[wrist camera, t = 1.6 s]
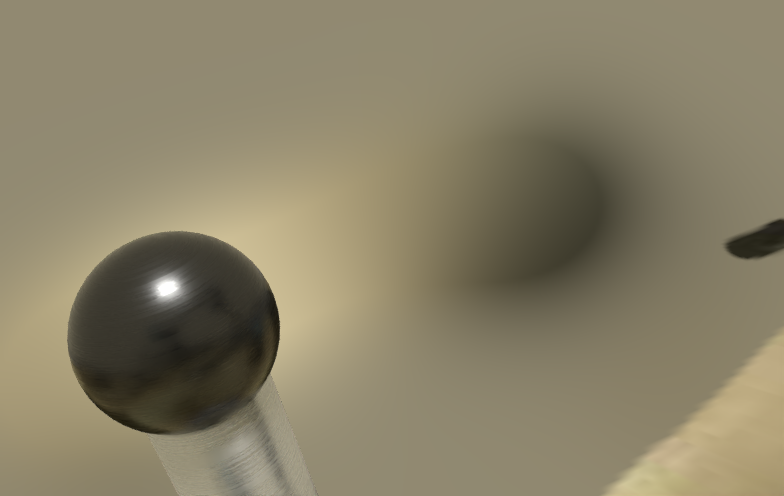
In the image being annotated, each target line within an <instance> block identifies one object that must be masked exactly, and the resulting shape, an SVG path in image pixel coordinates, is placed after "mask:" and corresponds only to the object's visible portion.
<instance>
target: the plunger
mask: <svg viewBox="0 0 784 496" xmlns="http://www.w3.org/2000/svg"><path fill="white" fill-rule="evenodd" d="M279 340H280V321H279V313H278V308H277V305H276V301H275V298H274V295H273V293H272V290H271V288H270V286H269V284H268V282H267V281H266V279H265V278H264V276H263V275H262V273H261V272H260V270H259V269H258V268H257V267H256V266H255V264H253V262H252V261H251V260H250V259H248V258H247V257H246V256H245V255H244V254H243V253H241V252H240V251H239V250H237V249H236V248H234V247H233V246H231V245H229V244H227V243H225V242H223V241H221V240H218V239H216V238H214V237H211V236H207V235H203V234H200V233H193V232H183V231H175V232H161V233H156V234H152V235H148V236H145V237H141V238H138V239H136V240H133V241H131V242H129V243H127V244H125V245H123V246H122V247H120V248H118V249H116V250H115V251H114V252H112V253H111V254H109V255H108V256H107V257H106V258H105V259H104V260H102V261H101V262H100V263H99V264H98V265H97V266H96V267H95V268H94V270H93V271H92V272H91V273H90V274H89V276H88V277H87V278H86V280H85V281H84V283H83V285H82V286H81V288H80V290H79V292H78V293H77V296H76V298H75V301H74V304H73V306H72V310H71V313H70V318H69V322H68V339H67V341H68V351H69V357H70V361H71V364H72V368H73V371H74V373H75V375H76V378H77V380H78V382H79V384H80V386H81V387H82V389H83V390H84V392H85V393H86V395H87V396H88V397H89V399H90V400H91V401H92V402H93V403H94V404H95V405H96V406H97V407H98V408H99V409H100V410H101V411H103V412H104V413H105V414H107V415H108V416H109V417H110V418H112V419H113V420H115V421H117V422H119V423H121V424H122V425H124V426H127V427H129V428H132V429H135V430H138V431H141V432H145V433H147V435H148V437H149V439H150V441H151V443H152V445H153V447H154V448H155V450H156V452H157V454H158V456H159V458H160V460H161V462H162V464H163V466H164V468H165V470H166V472H167V474H168V476H169V478H170V480H171V482H172V484H173V485H174V488H175V489H176V491H177V493H178V495H179V496H318V493H317V491H316V488H315V486H314V483H313V481H312V478H311V476H310V473H309V471H308V468H307V466H306V463H305V461H304V458H303V455H302V453H301V450H300V448H299V445H298V443H297V440H296V437H295V435H294V432H293V430H292V427H291V425H290V422H289V420H288V417H287V415H286V412H285V409H284V407H283V404H282V402H281V400H280V397H279V394H278V392H277V389H276V387H275V384H274V382H273V379H272V376H271V374H270V372H271V370H272V367H273V364H274V362H275V359H276V356H277V350H278V345H279Z"/></svg>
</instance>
